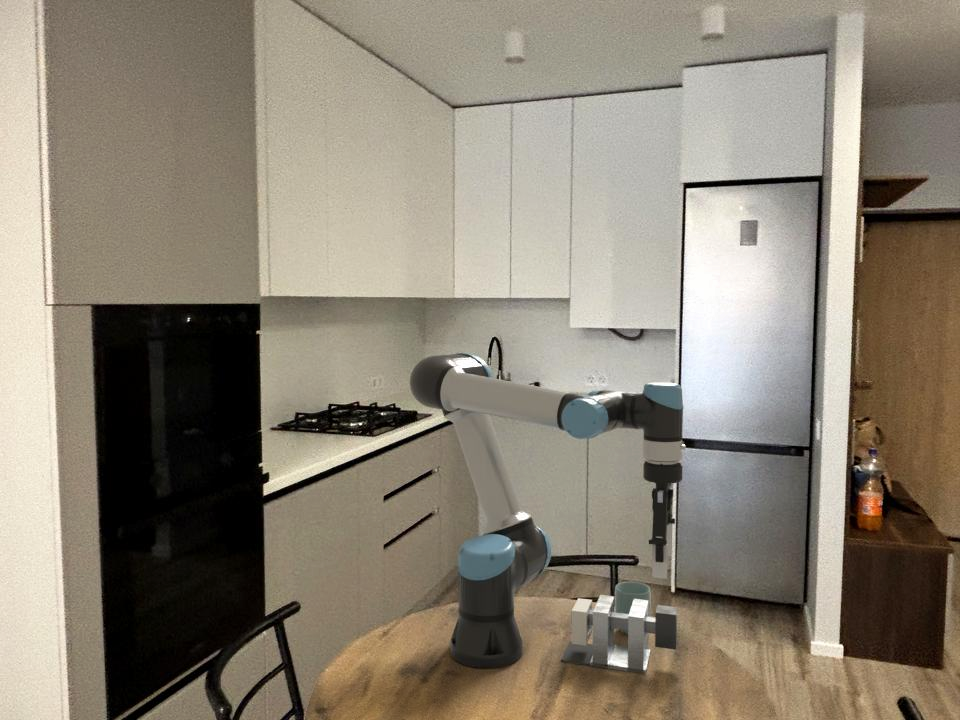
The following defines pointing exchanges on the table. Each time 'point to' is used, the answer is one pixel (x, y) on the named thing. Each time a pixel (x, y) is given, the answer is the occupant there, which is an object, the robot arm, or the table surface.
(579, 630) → the block
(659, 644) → the shaft
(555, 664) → the table surface
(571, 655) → the mat
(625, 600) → the cup
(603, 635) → the bearing block
